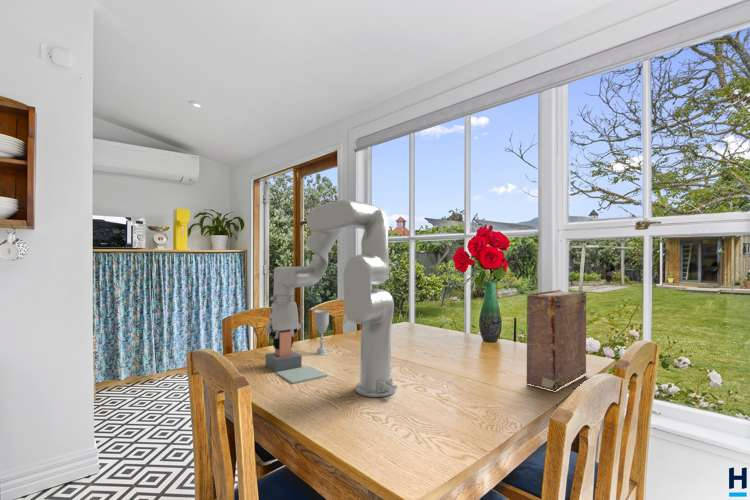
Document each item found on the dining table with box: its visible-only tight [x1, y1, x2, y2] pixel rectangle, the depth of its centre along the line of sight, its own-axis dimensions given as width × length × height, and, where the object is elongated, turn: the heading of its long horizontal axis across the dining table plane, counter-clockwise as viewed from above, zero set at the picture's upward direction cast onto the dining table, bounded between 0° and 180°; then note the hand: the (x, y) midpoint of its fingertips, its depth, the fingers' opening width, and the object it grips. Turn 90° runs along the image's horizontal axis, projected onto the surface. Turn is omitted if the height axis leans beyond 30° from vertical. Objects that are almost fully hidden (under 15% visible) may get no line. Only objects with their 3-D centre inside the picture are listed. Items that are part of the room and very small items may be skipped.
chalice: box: [313, 309, 331, 356], centre depth 163 cm, size 7×7×18 cm
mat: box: [275, 365, 328, 385], centre depth 134 cm, size 13×13×1 cm
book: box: [526, 289, 587, 391], centre depth 130 cm, size 25×9×30 cm, turn 131°
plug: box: [274, 330, 292, 357], centre depth 144 cm, size 4×4×12 cm
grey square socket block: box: [264, 350, 303, 373], centre depth 144 cm, size 10×10×4 cm
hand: (283, 347), depth 144 cm, fingers closed on plug, 4 cm apart
